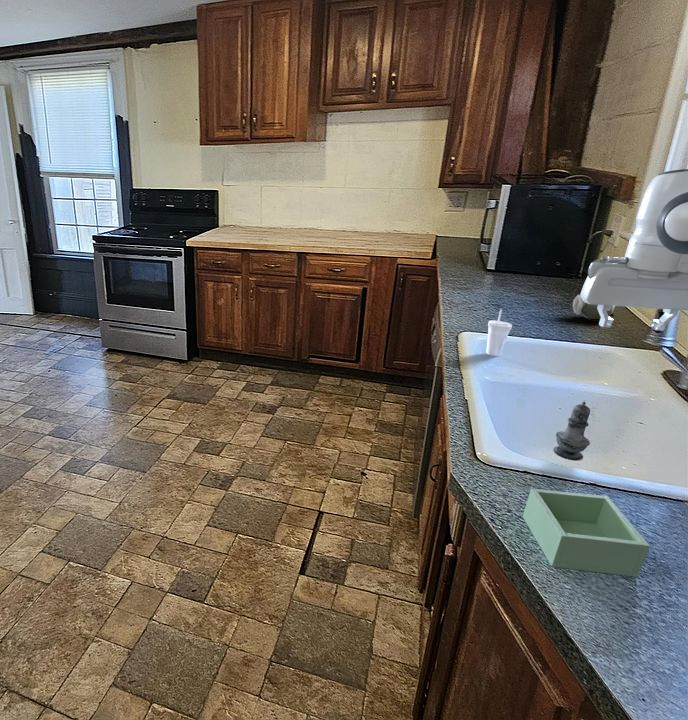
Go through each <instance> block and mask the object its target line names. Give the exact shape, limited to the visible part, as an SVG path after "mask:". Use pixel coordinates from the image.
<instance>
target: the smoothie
mask: <svg viewBox="0 0 688 720" xmlns="http://www.w3.org/2000/svg"><path fill="white" fill-rule="evenodd" d="M503 310H504V309H502V308H500V309H499V314H498V318H497V320H495V319H493V320H488V323H487V326H488V329H487V341H486V351H485V352H486V354H487V355H488V356H492V357H500V356H501V354H502V352H503V348H504V346H505V343H506V342H507V338H508V336H509V333H510V332H511V330H512V329H513V324H512V323H511V322H507V321H503V320H501V317H502V313H503Z"/></svg>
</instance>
